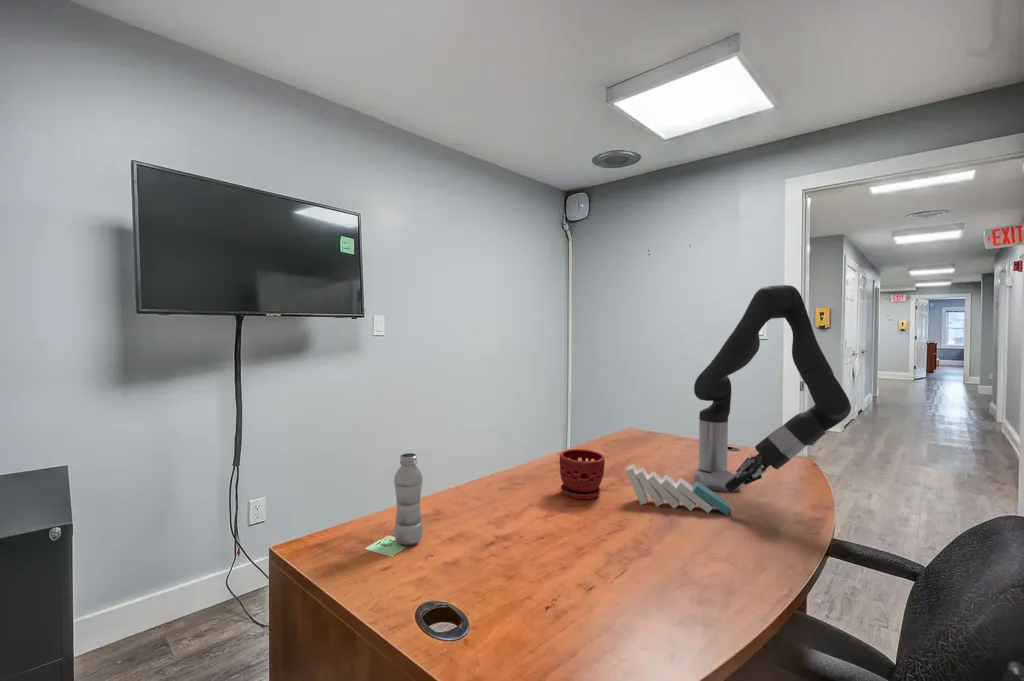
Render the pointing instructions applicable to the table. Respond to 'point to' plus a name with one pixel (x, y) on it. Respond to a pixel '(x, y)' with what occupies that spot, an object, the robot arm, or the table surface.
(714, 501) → the domino
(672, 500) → the domino
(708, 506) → the domino
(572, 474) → the plant pot
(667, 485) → the domino
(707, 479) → the stone block
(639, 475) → the domino
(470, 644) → the table surface
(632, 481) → the domino
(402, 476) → the plastic bottle
